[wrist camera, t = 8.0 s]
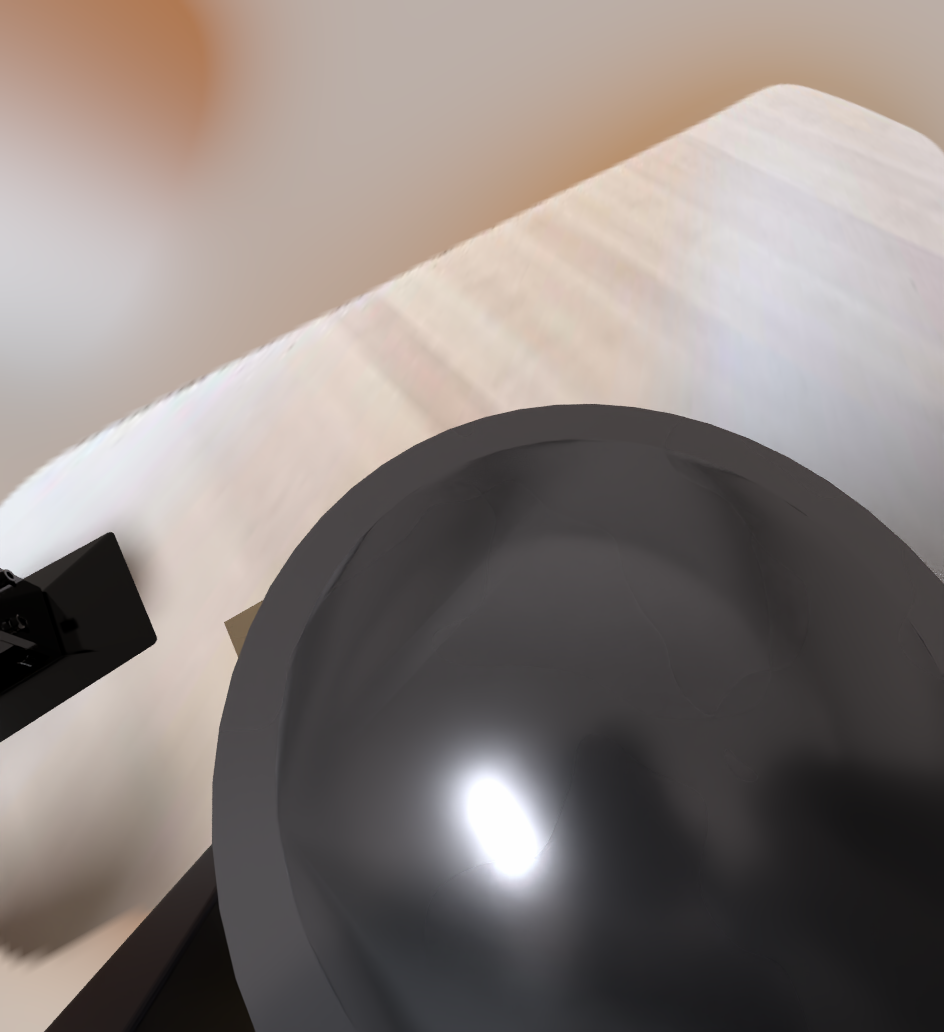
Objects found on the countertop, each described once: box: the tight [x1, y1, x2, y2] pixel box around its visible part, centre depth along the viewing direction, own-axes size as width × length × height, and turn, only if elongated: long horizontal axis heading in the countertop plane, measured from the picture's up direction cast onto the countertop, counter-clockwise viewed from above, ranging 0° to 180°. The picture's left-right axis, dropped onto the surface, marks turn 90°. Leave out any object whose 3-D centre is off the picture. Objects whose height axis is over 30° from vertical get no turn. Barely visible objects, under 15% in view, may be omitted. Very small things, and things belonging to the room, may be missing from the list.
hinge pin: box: [212, 404, 944, 1032], centre depth 9 cm, size 5×5×13 cm
